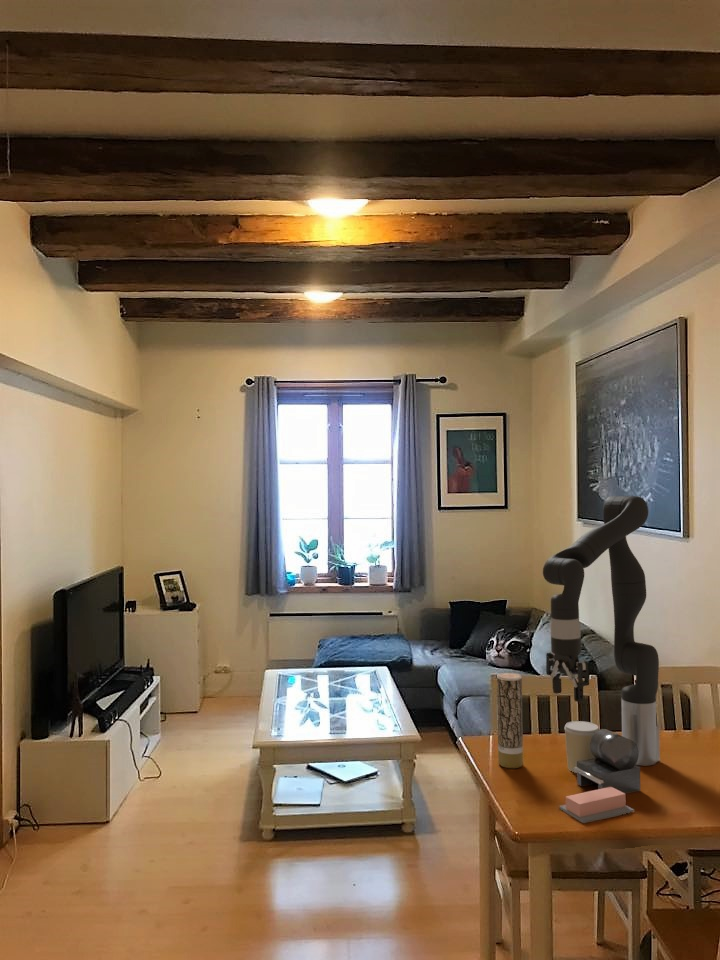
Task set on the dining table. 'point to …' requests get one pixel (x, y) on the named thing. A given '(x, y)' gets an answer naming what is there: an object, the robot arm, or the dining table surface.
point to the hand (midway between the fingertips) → (567, 697)
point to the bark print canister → (510, 720)
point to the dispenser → (610, 763)
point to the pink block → (595, 801)
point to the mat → (599, 814)
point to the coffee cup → (578, 741)
